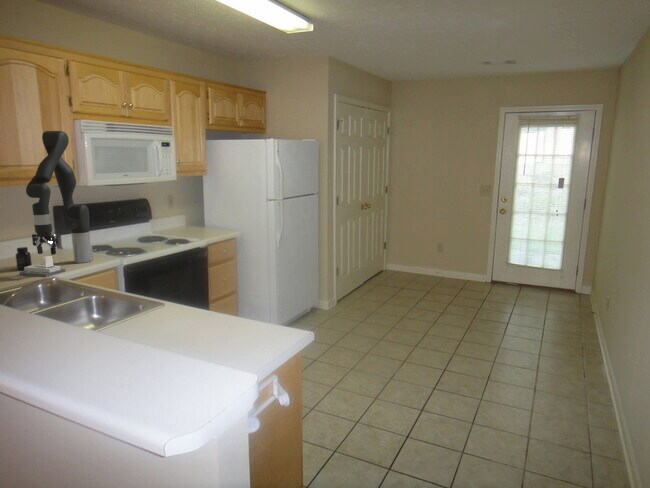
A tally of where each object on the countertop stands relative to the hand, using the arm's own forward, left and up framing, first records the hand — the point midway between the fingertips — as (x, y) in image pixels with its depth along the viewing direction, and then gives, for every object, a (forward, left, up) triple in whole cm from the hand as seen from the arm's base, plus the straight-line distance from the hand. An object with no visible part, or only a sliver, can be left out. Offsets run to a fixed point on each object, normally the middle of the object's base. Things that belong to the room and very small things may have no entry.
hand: (47, 254), depth 231 cm
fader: (0, 0, -9) cm, 9 cm away
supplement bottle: (-5, -22, -11) cm, 25 cm away
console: (0, -4, -10) cm, 11 cm away
